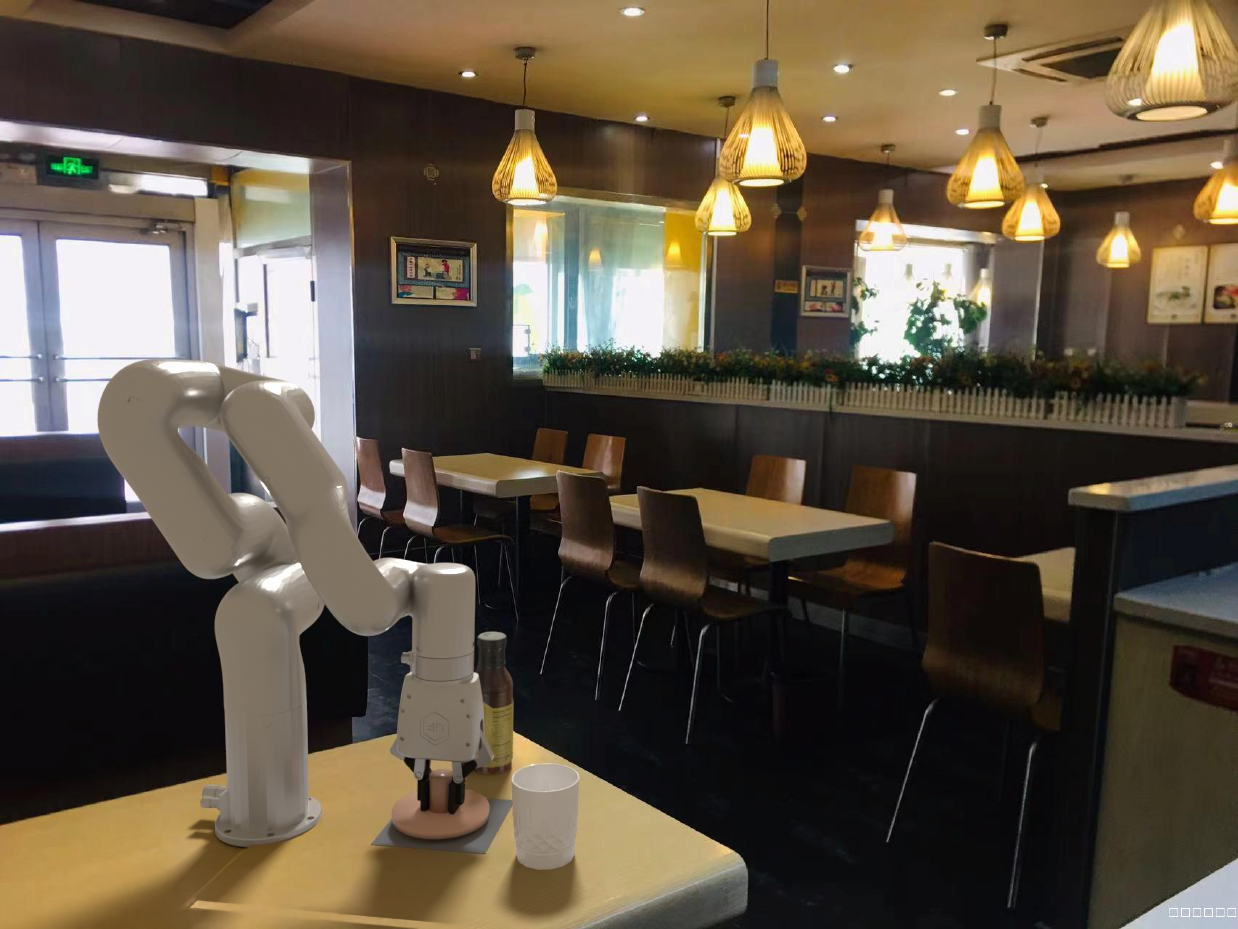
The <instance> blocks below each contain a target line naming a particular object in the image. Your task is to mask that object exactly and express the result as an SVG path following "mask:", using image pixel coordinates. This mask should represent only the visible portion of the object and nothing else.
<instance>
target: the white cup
mask: <svg viewBox="0 0 1238 929" xmlns="http://www.w3.org/2000/svg"><path fill="white" fill-rule="evenodd" d="M510 781H511V800H512V804H513V805H512V818H513V819H512V820H513V831H514V832H513V833H514V840H515V851H516V852H515V855H516V858H517V862H519V863H520V864H521V865H522V866H524V867H525V868H529V869H533V870H534V869H535V870H536V871H537V870H540V871H541V870H553V869H559V868H562V867H564V866H566V865H568V864H570V863H571V862H572V861H573V860H574V857H575V855H576V837H577V830H578V827H577V826H578V825H577V824H578V816H579V794H580V774H579V772H578V771H577V770H576V769H574V768H573V767H571V766H568V765H565V764H561V763H554V762H553V763H551V762H547V763H545V762H543V763H534V764H529V765H526V766H522V767H521V768H519V769H517V770H516V771H515V772H513V774H512V775H511V779H510Z"/></svg>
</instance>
